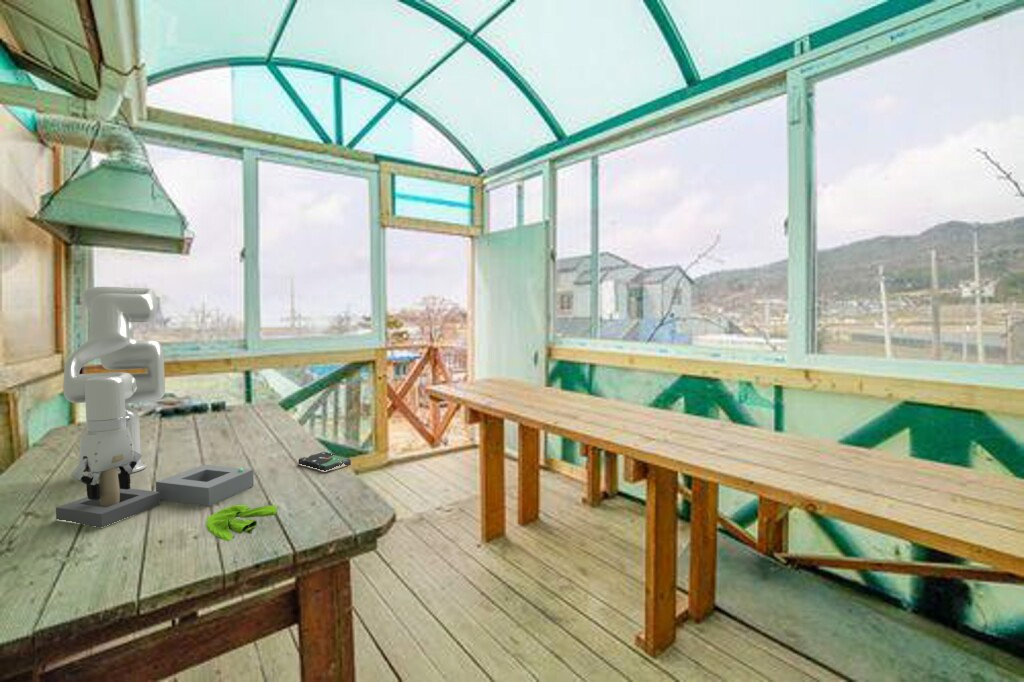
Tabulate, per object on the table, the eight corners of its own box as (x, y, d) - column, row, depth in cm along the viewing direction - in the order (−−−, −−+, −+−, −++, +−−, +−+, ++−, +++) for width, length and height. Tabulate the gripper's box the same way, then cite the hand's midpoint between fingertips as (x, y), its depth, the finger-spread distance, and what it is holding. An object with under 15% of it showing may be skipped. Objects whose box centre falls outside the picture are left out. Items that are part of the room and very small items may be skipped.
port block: (156, 499, 126) (155, 478, 126) (204, 480, 140) (204, 462, 140) (209, 506, 122) (208, 485, 121) (253, 486, 136) (253, 467, 136)
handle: (129, 510, 119) (126, 454, 118) (96, 519, 113) (93, 460, 113) (123, 506, 121) (121, 450, 121) (91, 514, 116) (88, 456, 115)
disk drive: (297, 467, 155) (325, 474, 148) (297, 459, 155) (325, 466, 148) (324, 458, 164) (351, 465, 157) (324, 451, 164) (351, 457, 156)
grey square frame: (56, 521, 112) (55, 507, 112) (117, 499, 126) (117, 486, 126) (102, 528, 109) (101, 514, 109) (160, 504, 122) (159, 492, 122)
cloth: (228, 505, 124) (228, 496, 124) (308, 507, 123) (307, 498, 123) (170, 542, 103) (169, 532, 103) (265, 544, 103) (264, 534, 103)
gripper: (131, 416, 125) (133, 480, 126) (54, 432, 109) (58, 505, 110) (152, 418, 124) (154, 483, 125) (78, 434, 107) (81, 509, 108)
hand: (109, 493), depth 117 cm, fingers open, 6 cm apart
